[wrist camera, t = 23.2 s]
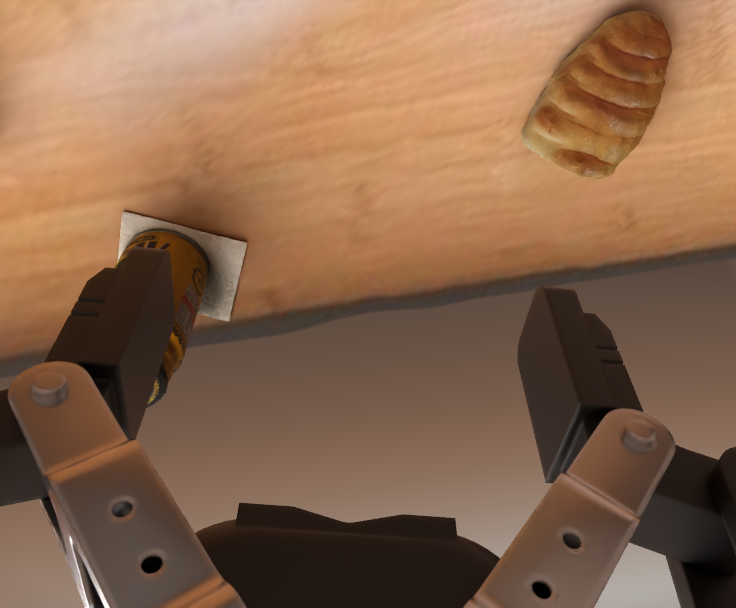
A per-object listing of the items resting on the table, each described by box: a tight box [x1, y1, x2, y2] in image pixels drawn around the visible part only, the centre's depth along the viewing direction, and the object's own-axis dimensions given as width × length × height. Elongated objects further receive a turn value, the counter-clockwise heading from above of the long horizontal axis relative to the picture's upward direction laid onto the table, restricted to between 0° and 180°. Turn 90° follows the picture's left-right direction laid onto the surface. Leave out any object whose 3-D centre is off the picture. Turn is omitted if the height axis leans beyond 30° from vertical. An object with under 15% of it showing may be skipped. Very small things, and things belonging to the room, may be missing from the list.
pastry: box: [521, 10, 672, 179], centre depth 40 cm, size 9×7×4 cm
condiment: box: [115, 212, 247, 408], centre depth 45 cm, size 7×8×12 cm
